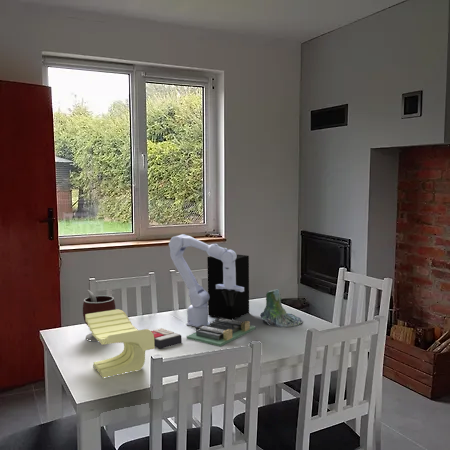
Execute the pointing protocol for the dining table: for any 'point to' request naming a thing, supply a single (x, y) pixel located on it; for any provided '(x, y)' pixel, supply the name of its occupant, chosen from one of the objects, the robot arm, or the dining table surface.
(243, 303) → the video game console
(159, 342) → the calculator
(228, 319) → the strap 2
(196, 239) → the robot arm
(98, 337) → the slatted curved stool
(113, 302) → the mate gourd
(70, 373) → the dining table surface
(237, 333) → the circuit board
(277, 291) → the tree stump
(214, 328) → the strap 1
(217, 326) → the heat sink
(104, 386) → the dining table surface
